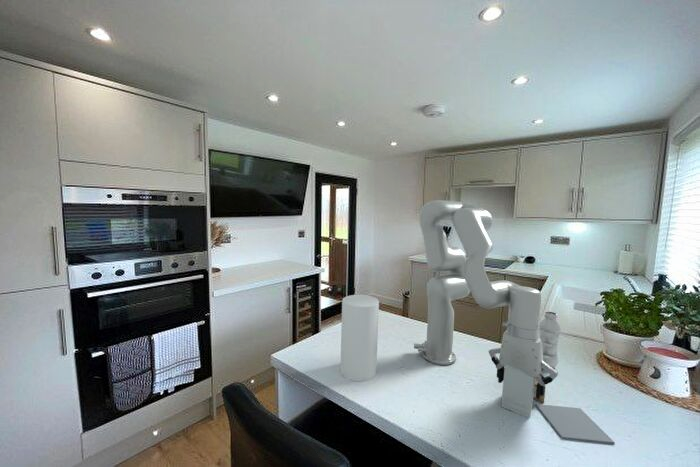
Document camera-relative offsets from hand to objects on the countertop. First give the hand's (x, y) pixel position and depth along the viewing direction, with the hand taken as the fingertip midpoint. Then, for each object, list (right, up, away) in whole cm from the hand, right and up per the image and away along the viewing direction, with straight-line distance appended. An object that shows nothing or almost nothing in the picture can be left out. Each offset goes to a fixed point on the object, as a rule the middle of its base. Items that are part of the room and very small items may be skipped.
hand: (519, 388), depth 81 cm
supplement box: (0, -6, +1) cm, 6 cm away
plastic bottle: (+24, -5, +23) cm, 34 cm away
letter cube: (+8, -6, +6) cm, 12 cm away
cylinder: (-46, -3, +17) cm, 49 cm away
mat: (+11, -7, -5) cm, 14 cm away
